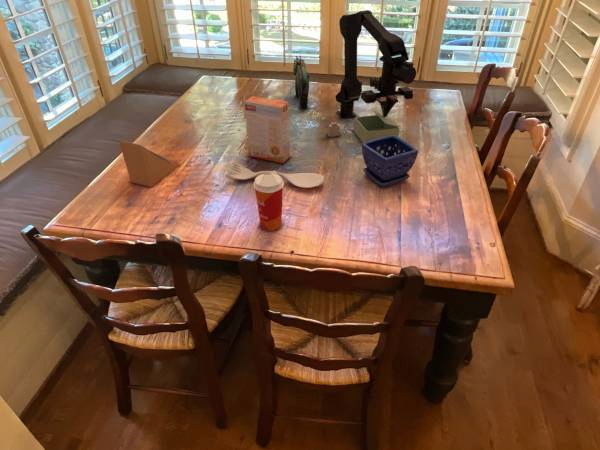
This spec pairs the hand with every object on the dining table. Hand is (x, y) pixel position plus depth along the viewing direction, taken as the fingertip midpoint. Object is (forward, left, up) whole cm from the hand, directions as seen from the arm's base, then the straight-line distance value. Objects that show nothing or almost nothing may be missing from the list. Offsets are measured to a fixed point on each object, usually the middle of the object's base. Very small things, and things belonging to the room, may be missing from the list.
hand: (384, 116), depth 166 cm
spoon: (+23, -47, -8) cm, 53 cm away
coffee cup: (+46, -53, -8) cm, 71 cm away
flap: (0, 0, -1) cm, 1 cm away
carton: (0, -3, -8) cm, 9 cm away
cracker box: (+6, -46, -8) cm, 47 cm away
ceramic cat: (-42, -22, -8) cm, 48 cm away
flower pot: (+30, -11, -8) cm, 33 cm away
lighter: (-5, -20, -8) cm, 22 cm away
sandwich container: (+8, -86, -8) cm, 87 cm away
